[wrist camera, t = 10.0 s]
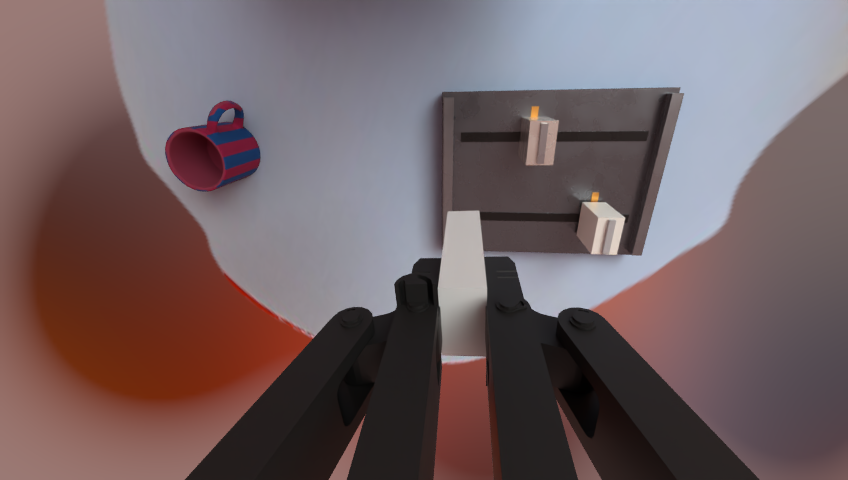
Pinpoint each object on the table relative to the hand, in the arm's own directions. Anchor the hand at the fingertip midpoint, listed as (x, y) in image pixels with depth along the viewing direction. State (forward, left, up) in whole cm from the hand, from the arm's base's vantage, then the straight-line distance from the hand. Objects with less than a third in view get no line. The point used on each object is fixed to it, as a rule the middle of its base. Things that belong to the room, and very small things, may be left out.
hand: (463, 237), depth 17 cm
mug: (-1, -27, -25) cm, 37 cm away
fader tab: (+7, +15, -23) cm, 28 cm away
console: (+3, +9, -25) cm, 27 cm away
